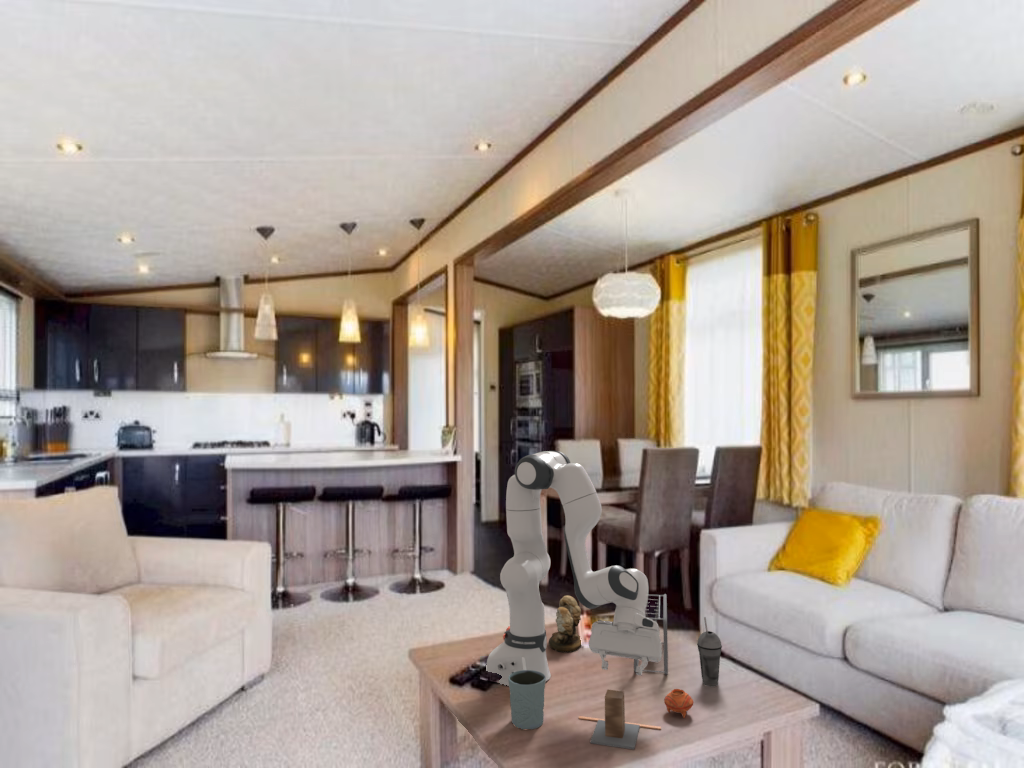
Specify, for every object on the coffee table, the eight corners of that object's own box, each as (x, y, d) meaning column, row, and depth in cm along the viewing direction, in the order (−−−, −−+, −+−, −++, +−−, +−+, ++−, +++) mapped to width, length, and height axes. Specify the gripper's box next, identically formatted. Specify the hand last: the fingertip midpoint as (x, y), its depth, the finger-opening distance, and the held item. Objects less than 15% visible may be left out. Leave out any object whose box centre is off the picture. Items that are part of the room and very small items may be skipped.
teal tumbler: (510, 731, 173) (509, 685, 174) (507, 713, 184) (507, 670, 184) (548, 729, 174) (547, 683, 174) (543, 711, 184) (543, 668, 185)
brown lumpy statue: (550, 634, 245) (549, 588, 246) (581, 635, 244) (581, 588, 245) (547, 652, 228) (547, 602, 228) (582, 653, 226) (581, 603, 227)
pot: (701, 716, 180) (696, 693, 179) (676, 727, 178) (671, 703, 177) (686, 702, 187) (681, 680, 187) (662, 712, 185) (656, 690, 185)
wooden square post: (605, 736, 169) (604, 696, 170) (608, 727, 173) (607, 689, 174) (622, 738, 168) (621, 698, 168) (624, 730, 172) (624, 691, 172)
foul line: (578, 718, 180) (578, 717, 180) (579, 717, 181) (579, 715, 181) (660, 729, 173) (660, 728, 173) (661, 727, 174) (661, 726, 174)
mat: (590, 743, 167) (590, 740, 167) (598, 721, 178) (598, 719, 178) (634, 749, 164) (634, 747, 164) (639, 727, 175) (639, 725, 175)
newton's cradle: (637, 640, 238) (636, 590, 238) (667, 642, 235) (666, 592, 236) (634, 674, 208) (633, 618, 209) (668, 677, 206) (666, 620, 207)
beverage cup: (724, 689, 197) (722, 621, 197) (698, 687, 198) (697, 620, 199) (721, 679, 204) (720, 614, 204) (697, 677, 205) (695, 612, 206)
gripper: (591, 614, 191) (582, 660, 182) (663, 623, 184) (657, 672, 175) (594, 624, 195) (586, 670, 186) (665, 634, 188) (659, 682, 179)
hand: (621, 671), depth 180 cm, fingers open, 8 cm apart
